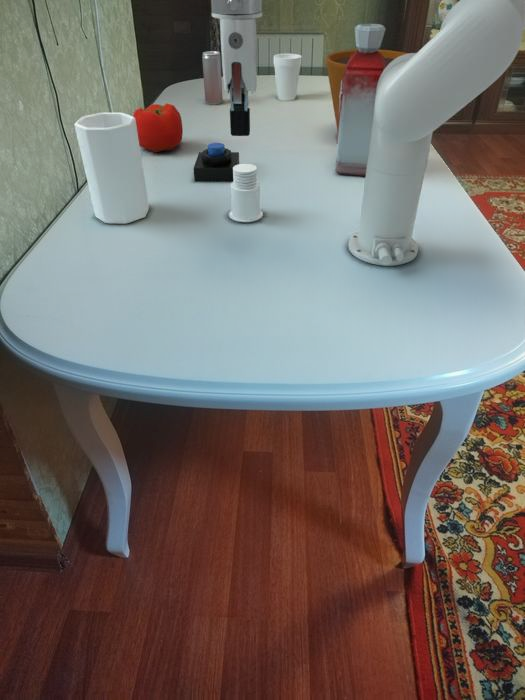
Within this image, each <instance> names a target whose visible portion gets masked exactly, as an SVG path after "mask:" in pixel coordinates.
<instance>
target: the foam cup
mask: <svg viewBox="0 0 525 700" xmlns="http://www.w3.org/2000/svg"><path fill="white" fill-rule="evenodd" d="M302 57H303V55H301V54H296V53H277V54H274V55H273V61H272V62H273V68H274V77H275V87H276V97H277V99H278V100H279V101H286V102H288V101H294V100H296V97H297V92H298V84H299V78H300V72H301V67H302V66H301V65H302Z"/></svg>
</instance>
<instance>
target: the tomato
mask: <svg viewBox="0 0 525 700" xmlns="http://www.w3.org/2000/svg"><path fill="white" fill-rule="evenodd" d="M132 116H133V117H134V118H135V120H136V127H137V133H138V140H139V146H140V148H142V149H144V150H149V151H150V152H153V153H159V152H162V151H167V152H169V151H172V150H174V149H176V147H178V146H179V145H180V143H181V142H182V140H183V134H184V133H183V131H184V130H183V129H184V128H183V121H182V117H181V113H180V112H179V110H178V109H177V108H176V107H175V105H173V104H171V103H167V102H166V103H165V104H164V105H161V104H157V103H153V104H151V105H148V106H147V107H145V109H144V108H142V107H139V108H137V109H135V111H134V113H133V115H132Z"/></svg>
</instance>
